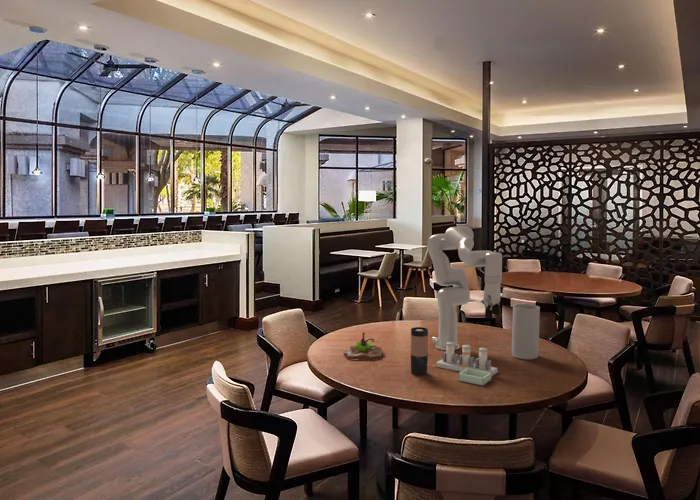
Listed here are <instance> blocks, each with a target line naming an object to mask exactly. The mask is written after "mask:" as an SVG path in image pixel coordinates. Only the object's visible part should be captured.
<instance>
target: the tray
mask: <svg viewBox="0 0 700 500" xmlns="http://www.w3.org/2000/svg"><path fill="white" fill-rule="evenodd" d="M492 377H493V376H492V373H490V372H485V371H480V370H475V369H470V368H467V369H465V370H463V371H462V372H458V378H457V379H458V381H461V382H465V383H469V384H474V385H478V386H483V387H484V386H485V385H486V384H488V383H489V382H490V381H492Z"/></svg>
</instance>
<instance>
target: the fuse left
mask: <svg viewBox="0 0 700 500" xmlns="http://www.w3.org/2000/svg"><path fill="white" fill-rule="evenodd" d="M454 345H455V343H453V342H447V343H446V350H445V352H446V362H447V363H453V356H454V355H455V350H454Z"/></svg>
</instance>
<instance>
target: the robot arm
mask: <svg viewBox="0 0 700 500" xmlns="http://www.w3.org/2000/svg"><path fill="white" fill-rule="evenodd" d="M474 235H475V234H474V231H473V229H471V228H470V227H469V226H451V227H449V228H447V229H446V231H445V233H436V234H433V235H431V236H429V238H428V239H427V251H428V254H429V257H430V258H431V262H432V264H433V265H432V266H433V270H434V271H433V272H434V275H435V280H436V282H437V284H438V285H439V286H452V287H443V288H440V289H439V290H438V292H437V294H436V298H437V299H436V300H437V307H438V335H437V337H435V336H432V338H431V342H434V343H435V349H438V350H442V351H446V343H447V342H453V343H455V345H454V351H457V350H459V349H460V348H461V346H460V344H458V312H457V311H456V309H455V307H454V306H463V305H467V304H469V302H470V299H471V292H470V287H469V284H468V279H467V274H466V272H465V270H464V269H463V268H462V267H460V266H451V263H450V260H449V257H448V255H447V254H446V253H445V252H444V250H445V251H447V250H449V251H451V250H457V251H458V252H457V253H458V257H459V259H460V261H462V263H463V264H465V266H468V267H471V268H477V267H478V268H480V267H481V268H482V267H484V284H485V285H484V291H483V305H484V310H485V311H484V318H485V319H491V320H492V319H493V315H495V316H497V315H498V316H499V315H500V306H501V305H500V302H501V284H502V280H503V279H502V278H503V277H502V276H503V274H502V273H503V254H502V253H500V252H497V251H492V250H472V249H473V248H474V246H475V242H474Z"/></svg>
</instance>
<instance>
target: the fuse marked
mask: <svg viewBox="0 0 700 500" xmlns="http://www.w3.org/2000/svg"><path fill="white" fill-rule="evenodd" d="M461 346H462V351H461V352H462V353H461V355H462V365H463V366H470V358H471V351H472V349H471V348H472V347H471V346H472V345H469V344H463V345H461Z"/></svg>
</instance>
